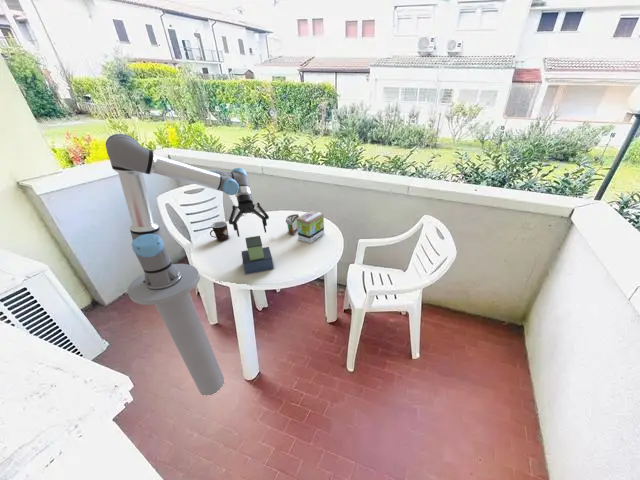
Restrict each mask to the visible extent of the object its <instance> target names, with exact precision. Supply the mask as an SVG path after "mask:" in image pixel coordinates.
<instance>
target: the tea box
mask: <svg viewBox="0 0 640 480" xmlns="http://www.w3.org/2000/svg"><path fill="white" fill-rule="evenodd" d="M324 217H325V216H324V213H322V212H319V211H315V210H310V211H307V212H306V213H304V214H302V215H300V216H299V217H298V218H297V230H298V231H297V240H299V241H301V242H304V243H308V244H311V243H313V242H314V241H316V240H317V239H319V238H321V237H322V236H324V235H325V222H324V219H325V218H324Z"/></svg>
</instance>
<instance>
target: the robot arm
mask: <svg viewBox="0 0 640 480" xmlns="http://www.w3.org/2000/svg"><path fill="white" fill-rule="evenodd" d="M105 149H106V153H107V156H108V158H109V161H110V166H111V168H112V170H113V171H115V172H117V174H118V178H119V182H120V184H121V188H122V191H123V192H122V193H123V195H124V199H125V203H126V206H127V209H128V213H129V217H130V221H131V225H130V226H129V231H130V232H129V233H130V236H131V240H132V242H131V248H132V251H133V252H134V254H135V256H136V258H137V260H138V262H139V264H140V266H141V268H142V270H143V273H145V280H144V281H143V282H144V283H145V284H146V286H147V288H148V289H150V290H162V289H166V288H169V287H171V286H173V285H175V284H177V283H178V282H179V281H180V280H181V278H182V275H181V273H180V271H179V270H178V269H177V268H176V267H175V266H174V265H173V264H174V263H172V260H171V258H170V256H169V252H168V251H167V249H166V245H165V243H164V240H163V237H162V233H161V229H160V225H159V224H158V223H157V222H155V219H154V215H153V211H152V207H151V202H150V198H149V194H148V190H147V186H146V181H145V177H144V174H146V175H152V174H156V175H159V176H164V177H167V178H171V179H174V180H175V179H176V180H179V181H183V182H186V183H190V184H193V185H196V186H201V187H204V188H208V189H212V190H216V191H219V192H223V193H225V194H226V195H227V196H235V195H236V196H235V197H236V199H237V200H236V201H237V205H236V206H235V205H232V206H231V207H232V208H231V209H232V210H231V213H230V216H229V218H228V224H229V225H232V226H233V230H234V231H236V234H237V237H238V238H239V237H240V231H239V226H238V222H239V220H240V219H241V217H242V216H243V214H251V213H253V214H254V215H255V216H257V217H258V218H260V219H261V221H262V226H263V231H264V233H267V226H268V223H267V220H269V219H270V216H269V214H268V213H267V212H266V211H265V209H263V207H262V206H261V204H260V202H256V203H254V201H253V197H252V192H251V188H250V184H249V178H248V174H247V171H246V170H245V169H244V168H242V167H236V168H233V169H232V170H231V172H230V171H224V170H223V171H221V170H208V169H204V168H200V167H198V166H194V165H191V164H187V163H184V162H182V161H178V160H175V159H171V158H168V157H165V156H163V155H159V154H156V152H155V150H151V149H148V148H146V147H143V146H141V145H140V143H139V142H138V141H137V139H135V138H133V137H132V136H131V135H128V134H124V133H114V134H112V135H110V136H109V137H108V138H107V139H106V141H105ZM255 208H257V209H258V210H259V211H260V212H261V213H260V212H259V211H258V210H257V209H255ZM238 210H239V211H238ZM236 211H238V213H237V215H236ZM235 215H236V216H235Z"/></svg>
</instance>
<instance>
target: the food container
mask: <svg viewBox="0 0 640 480" xmlns="http://www.w3.org/2000/svg"><path fill="white" fill-rule="evenodd" d="M298 217H300V216H299V214H297V213H296V214H290V215H288V216H287V217H286V218H285V224H287V225H286V226H287V229H288V233H289V235H292V236H295V235H296V234H297V233H298V230H297V218H298Z"/></svg>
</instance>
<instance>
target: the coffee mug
mask: <svg viewBox="0 0 640 480" xmlns="http://www.w3.org/2000/svg"><path fill="white" fill-rule="evenodd" d="M211 228H212V230H210V232H209V235H210V237H212V238H216V240H217V241H218V242H226V241H228V240H229V239H230V238H229V237H230V236H229V229H228V223H227V222H226V221H216V222H213V223H212V224H211ZM212 233H214V235H215V236H214V235H213V234H212Z"/></svg>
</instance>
